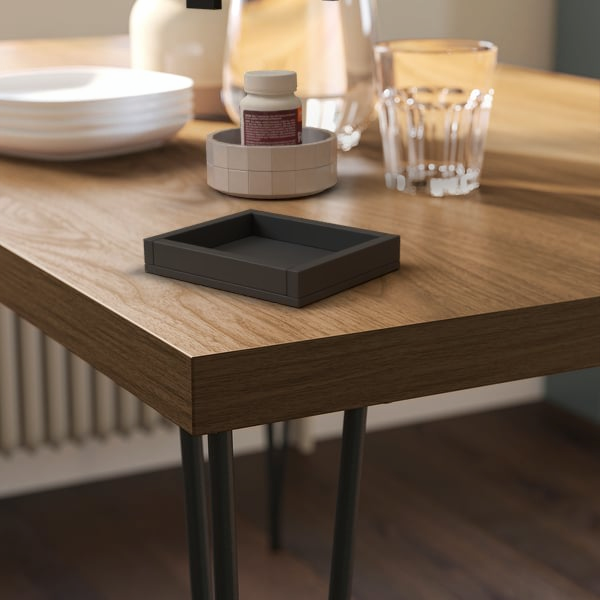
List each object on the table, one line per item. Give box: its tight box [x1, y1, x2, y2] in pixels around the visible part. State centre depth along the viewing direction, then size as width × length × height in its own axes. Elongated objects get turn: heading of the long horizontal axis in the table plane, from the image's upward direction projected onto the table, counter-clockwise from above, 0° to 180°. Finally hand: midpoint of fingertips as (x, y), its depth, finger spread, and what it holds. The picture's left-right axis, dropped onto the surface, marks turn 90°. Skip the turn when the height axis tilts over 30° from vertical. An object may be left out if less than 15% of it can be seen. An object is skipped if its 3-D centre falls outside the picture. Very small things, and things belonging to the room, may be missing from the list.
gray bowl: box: [205, 125, 338, 200], centre depth 91 cm, size 10×10×4 cm
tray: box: [142, 208, 401, 308], centre depth 69 cm, size 12×10×2 cm
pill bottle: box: [239, 69, 303, 146], centre depth 90 cm, size 5×5×8 cm
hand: (266, 4), depth 87 cm, fingers open, 13 cm apart
